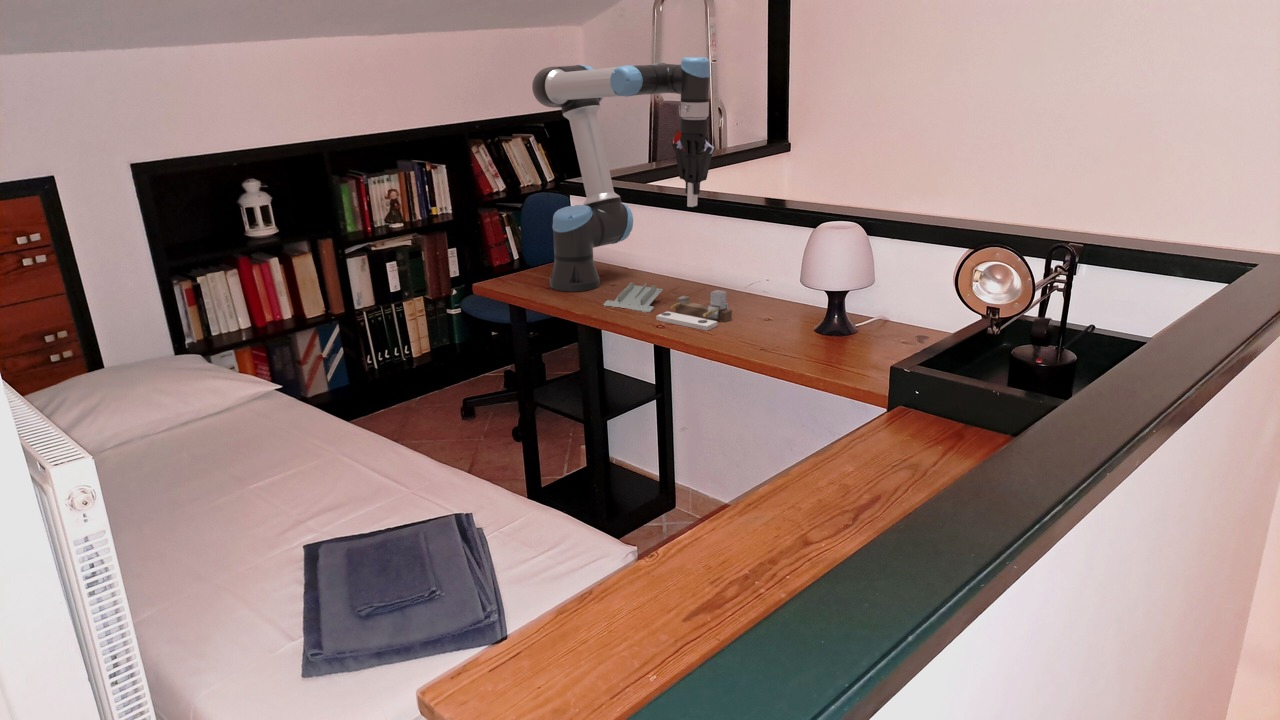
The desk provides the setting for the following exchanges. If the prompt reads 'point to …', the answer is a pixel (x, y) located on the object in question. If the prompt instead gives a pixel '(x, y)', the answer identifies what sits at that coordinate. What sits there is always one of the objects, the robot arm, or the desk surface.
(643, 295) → the metal bracket
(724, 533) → the desk surface
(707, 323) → the hole plate
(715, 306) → the slider
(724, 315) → the brown fixture base
